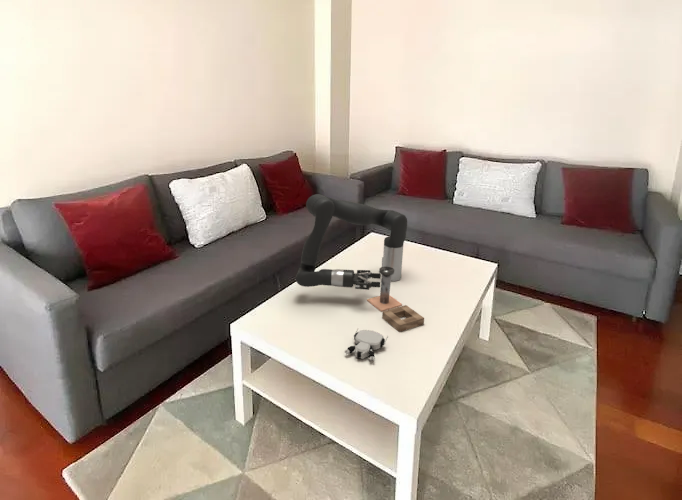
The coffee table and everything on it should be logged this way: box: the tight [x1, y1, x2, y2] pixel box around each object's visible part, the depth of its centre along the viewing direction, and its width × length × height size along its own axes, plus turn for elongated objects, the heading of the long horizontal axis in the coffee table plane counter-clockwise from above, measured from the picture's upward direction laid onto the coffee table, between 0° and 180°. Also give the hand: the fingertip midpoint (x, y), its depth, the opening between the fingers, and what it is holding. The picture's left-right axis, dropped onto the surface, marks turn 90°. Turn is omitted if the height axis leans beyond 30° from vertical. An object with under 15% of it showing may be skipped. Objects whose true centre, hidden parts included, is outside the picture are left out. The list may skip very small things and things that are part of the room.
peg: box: [378, 266, 394, 304], centre depth 198 cm, size 6×6×15 cm
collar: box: [381, 304, 425, 333], centre depth 187 cm, size 12×12×3 cm
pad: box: [366, 294, 403, 313], centre depth 201 cm, size 11×11×1 cm
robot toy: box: [344, 327, 389, 361], centre depth 168 cm, size 12×4×15 cm
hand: (380, 280), depth 197 cm, fingers open, 8 cm apart
